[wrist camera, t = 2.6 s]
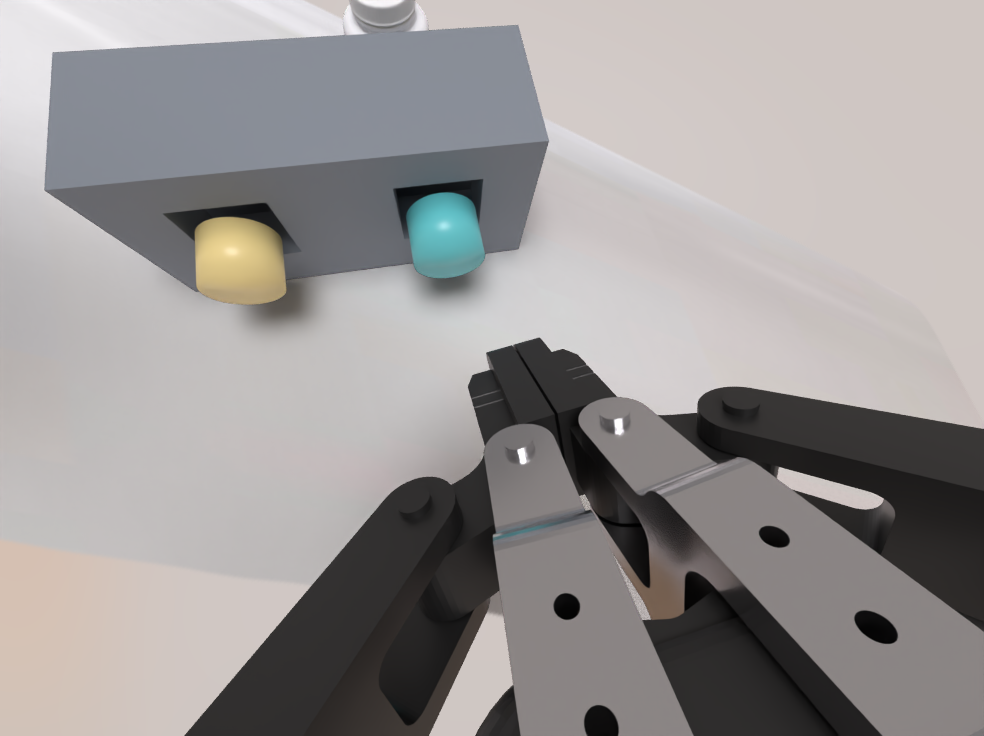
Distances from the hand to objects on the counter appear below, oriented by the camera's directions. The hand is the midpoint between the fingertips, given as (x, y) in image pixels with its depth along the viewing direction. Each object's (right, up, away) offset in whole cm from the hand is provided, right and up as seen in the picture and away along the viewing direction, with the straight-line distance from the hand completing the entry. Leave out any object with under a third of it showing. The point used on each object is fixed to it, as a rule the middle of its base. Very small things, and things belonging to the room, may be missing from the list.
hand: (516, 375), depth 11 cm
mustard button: (-16, +6, +14) cm, 22 cm away
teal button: (-4, +8, +16) cm, 18 cm away
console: (-11, +12, +20) cm, 26 cm away
